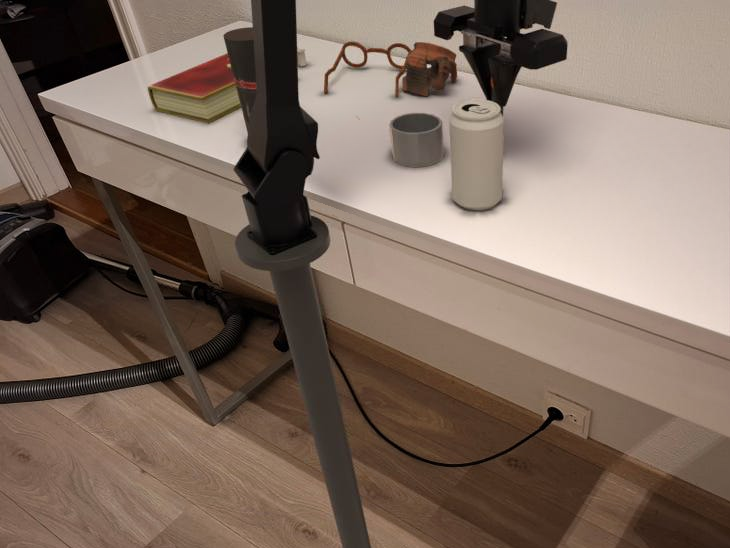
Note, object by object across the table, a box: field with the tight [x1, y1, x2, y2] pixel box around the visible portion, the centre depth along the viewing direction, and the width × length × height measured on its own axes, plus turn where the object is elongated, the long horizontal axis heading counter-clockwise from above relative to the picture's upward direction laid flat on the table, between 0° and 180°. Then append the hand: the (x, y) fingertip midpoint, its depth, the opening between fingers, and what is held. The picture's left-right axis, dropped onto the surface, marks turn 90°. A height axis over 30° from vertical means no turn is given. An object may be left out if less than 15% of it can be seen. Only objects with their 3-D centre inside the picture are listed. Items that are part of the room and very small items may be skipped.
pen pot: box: [388, 112, 445, 168], centre depth 94 cm, size 7×7×5 cm
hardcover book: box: [147, 53, 241, 124], centre depth 113 cm, size 12×21×4 cm, turn 152°
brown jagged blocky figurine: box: [401, 41, 458, 97], centre depth 114 cm, size 12×10×8 cm
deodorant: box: [222, 26, 257, 133], centre depth 95 cm, size 6×6×15 cm
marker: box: [491, 77, 504, 117], centre depth 90 cm, size 2×2×9 cm
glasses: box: [323, 41, 412, 98], centre depth 116 cm, size 13×13×5 cm
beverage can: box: [448, 98, 505, 211], centre depth 82 cm, size 6×6×12 cm
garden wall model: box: [297, 47, 307, 67], centre depth 125 cm, size 12×2×6 cm, turn 50°
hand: (497, 104), depth 89 cm, fingers closed on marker, 2 cm apart
